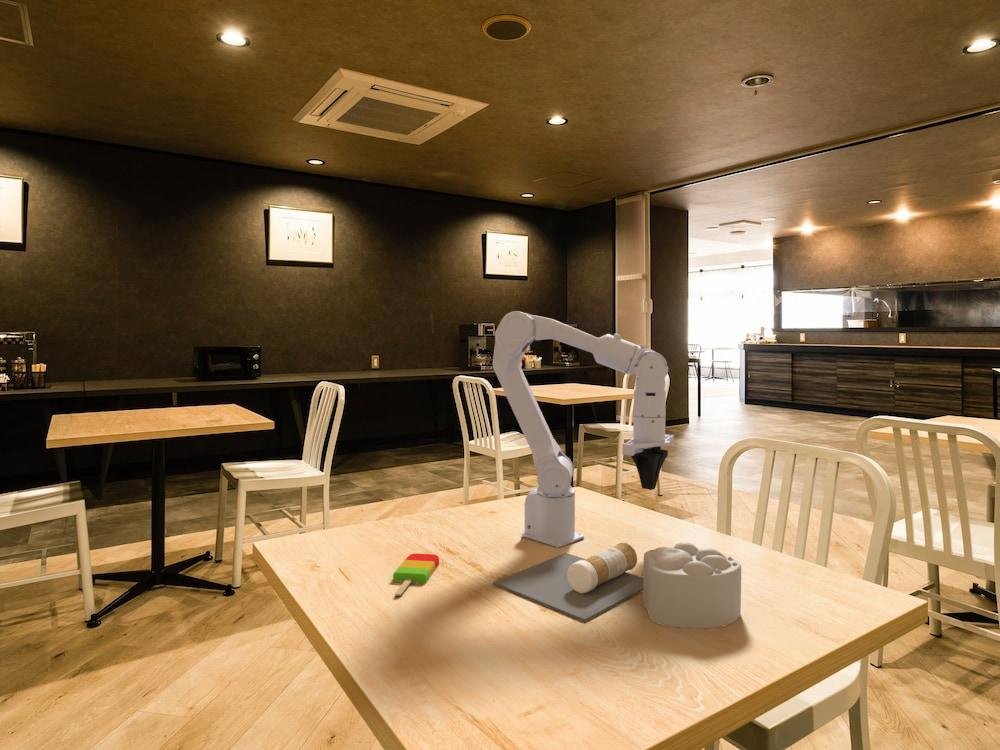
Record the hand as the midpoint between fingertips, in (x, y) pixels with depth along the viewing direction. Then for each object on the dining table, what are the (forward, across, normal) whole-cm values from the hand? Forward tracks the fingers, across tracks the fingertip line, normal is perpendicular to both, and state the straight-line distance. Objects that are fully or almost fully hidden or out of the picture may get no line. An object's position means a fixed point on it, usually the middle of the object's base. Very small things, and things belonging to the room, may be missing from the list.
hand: (648, 488), depth 114 cm
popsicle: (+11, -41, +18) cm, 46 cm away
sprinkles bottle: (+8, -14, -5) cm, 17 cm away
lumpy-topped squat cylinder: (+11, -20, -20) cm, 30 cm away
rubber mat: (+10, -24, -2) cm, 27 cm away
